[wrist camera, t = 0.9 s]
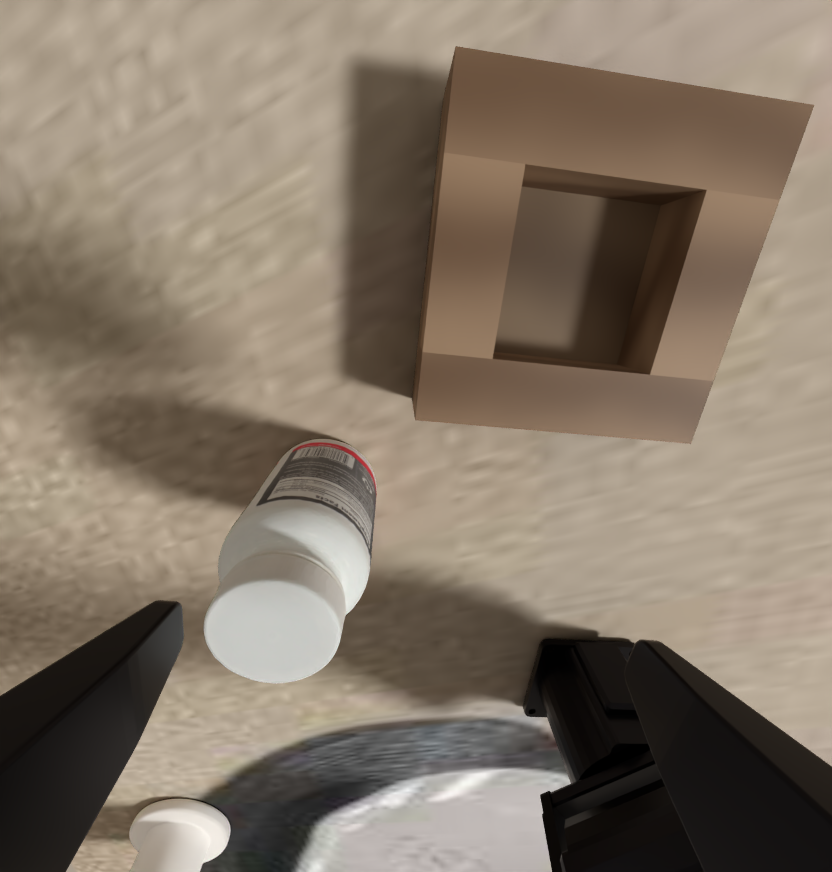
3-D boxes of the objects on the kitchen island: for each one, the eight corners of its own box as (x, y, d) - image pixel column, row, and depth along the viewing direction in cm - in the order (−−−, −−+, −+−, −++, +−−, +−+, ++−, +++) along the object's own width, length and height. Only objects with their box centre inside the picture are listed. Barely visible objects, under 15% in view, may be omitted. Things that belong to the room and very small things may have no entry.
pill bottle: (329, 544, 22) (280, 726, 13) (253, 483, 20) (135, 637, 11) (399, 484, 21) (401, 633, 12) (323, 414, 19) (257, 523, 10)
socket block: (642, 419, 20) (690, 443, 17) (411, 398, 19) (415, 420, 16) (728, 144, 16) (814, 105, 13) (442, 100, 15) (455, 46, 12)
